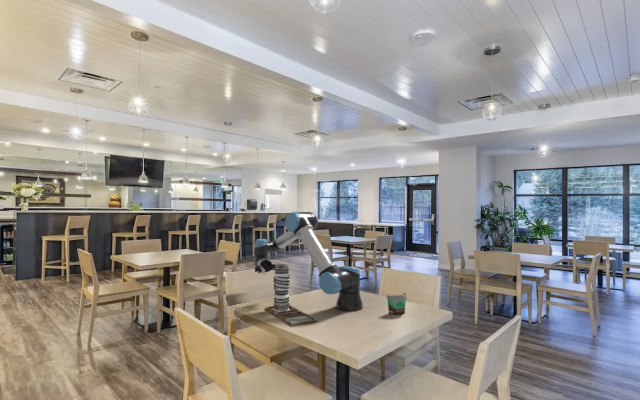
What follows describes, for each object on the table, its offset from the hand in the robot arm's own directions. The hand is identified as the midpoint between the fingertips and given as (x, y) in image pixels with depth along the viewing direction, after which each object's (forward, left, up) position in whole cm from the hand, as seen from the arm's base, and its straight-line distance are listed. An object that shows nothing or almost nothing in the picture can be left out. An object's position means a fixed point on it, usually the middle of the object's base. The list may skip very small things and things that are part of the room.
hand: (275, 271), depth 206 cm
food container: (-70, -3, -20) cm, 73 cm away
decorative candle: (-7, +8, -20) cm, 23 cm away
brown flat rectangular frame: (-14, +15, -20) cm, 29 cm away
